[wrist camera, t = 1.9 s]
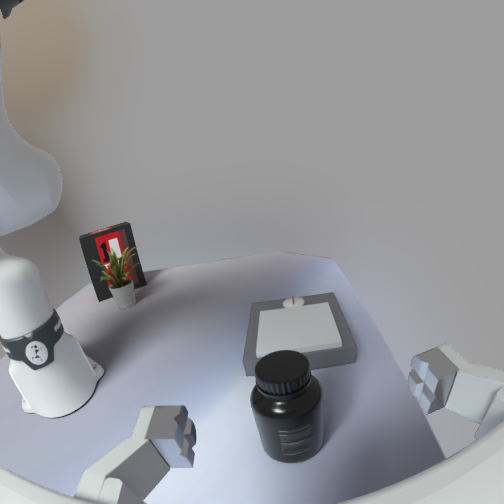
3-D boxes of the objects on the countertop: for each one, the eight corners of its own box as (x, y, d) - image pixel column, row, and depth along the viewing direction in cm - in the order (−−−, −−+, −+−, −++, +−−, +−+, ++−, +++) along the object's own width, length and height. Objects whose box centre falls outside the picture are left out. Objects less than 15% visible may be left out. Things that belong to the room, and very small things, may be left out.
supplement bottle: (331, 424, 27) (331, 346, 24) (312, 470, 21) (309, 400, 18) (276, 414, 30) (262, 339, 27) (252, 456, 25) (227, 384, 21)
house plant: (165, 296, 72) (149, 238, 68) (126, 321, 61) (105, 256, 57) (135, 291, 80) (120, 239, 75) (100, 311, 69) (81, 255, 64)
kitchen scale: (246, 376, 39) (241, 355, 37) (254, 316, 56) (251, 298, 55) (355, 362, 37) (356, 340, 36) (334, 305, 54) (333, 287, 53)
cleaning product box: (141, 278, 91) (126, 221, 86) (146, 285, 84) (130, 223, 78) (97, 293, 83) (79, 236, 77) (99, 301, 76) (79, 238, 70)
